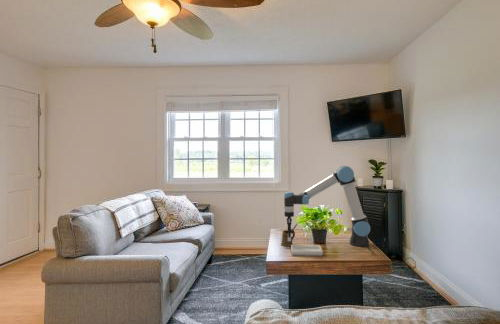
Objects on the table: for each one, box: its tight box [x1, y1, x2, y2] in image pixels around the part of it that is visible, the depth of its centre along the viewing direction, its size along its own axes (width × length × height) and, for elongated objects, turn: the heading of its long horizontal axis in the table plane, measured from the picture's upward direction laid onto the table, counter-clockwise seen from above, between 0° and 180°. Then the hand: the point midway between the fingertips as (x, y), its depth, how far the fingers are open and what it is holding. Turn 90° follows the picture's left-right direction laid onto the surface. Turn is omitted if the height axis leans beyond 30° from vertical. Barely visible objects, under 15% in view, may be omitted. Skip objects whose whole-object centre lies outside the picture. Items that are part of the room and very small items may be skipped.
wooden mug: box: [280, 223, 298, 247], centre depth 249 cm, size 9×14×18 cm, turn 71°
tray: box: [290, 244, 324, 257], centre depth 230 cm, size 22×16×3 cm
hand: (289, 239), depth 250 cm, fingers closed on wooden mug, 7 cm apart
